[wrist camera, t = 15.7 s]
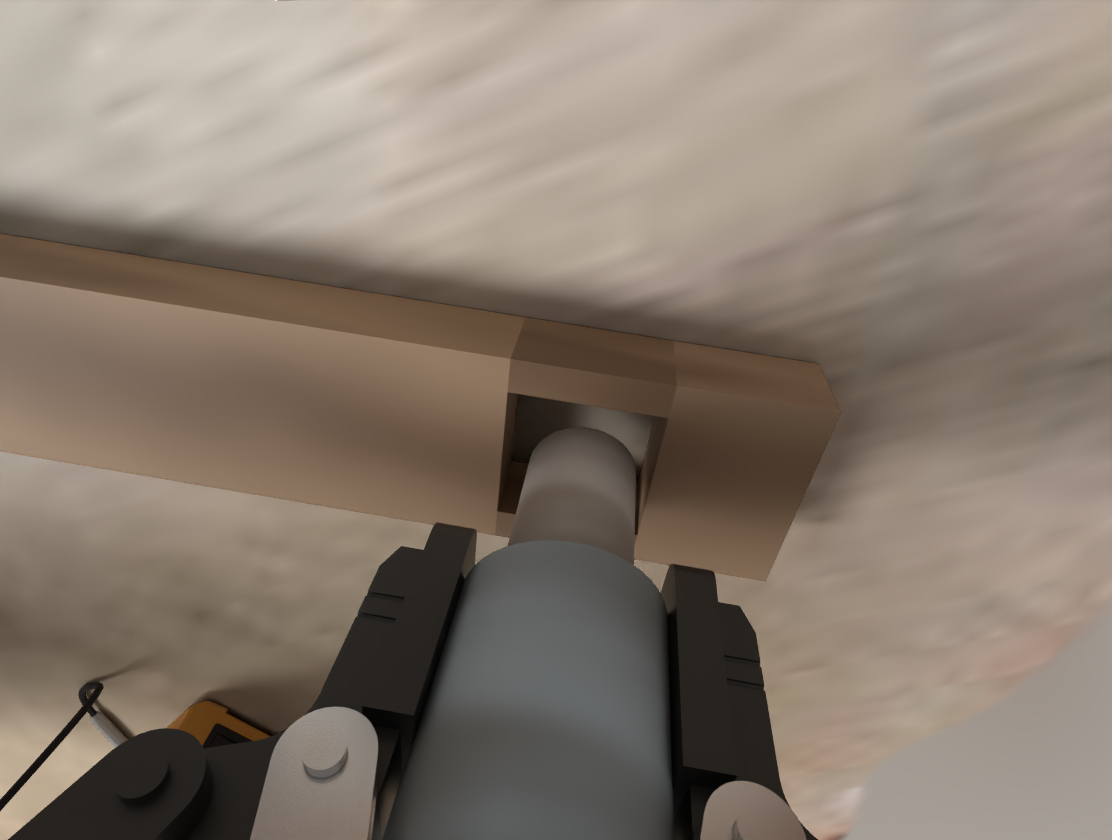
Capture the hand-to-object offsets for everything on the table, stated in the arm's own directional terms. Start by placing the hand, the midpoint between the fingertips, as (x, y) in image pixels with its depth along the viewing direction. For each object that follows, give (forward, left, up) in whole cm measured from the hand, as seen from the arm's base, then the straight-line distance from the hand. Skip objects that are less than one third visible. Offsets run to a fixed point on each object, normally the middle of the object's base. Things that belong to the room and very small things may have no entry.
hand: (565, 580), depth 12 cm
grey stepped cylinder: (0, 0, -3) cm, 3 cm away
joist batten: (0, +6, -5) cm, 8 cm away
